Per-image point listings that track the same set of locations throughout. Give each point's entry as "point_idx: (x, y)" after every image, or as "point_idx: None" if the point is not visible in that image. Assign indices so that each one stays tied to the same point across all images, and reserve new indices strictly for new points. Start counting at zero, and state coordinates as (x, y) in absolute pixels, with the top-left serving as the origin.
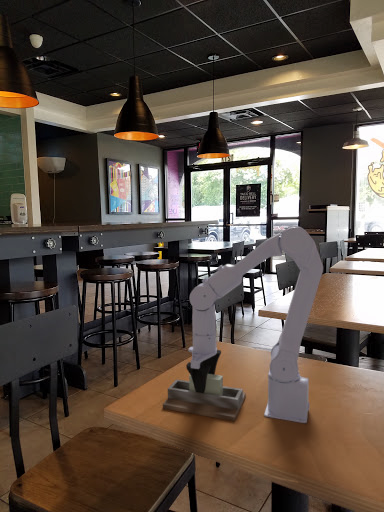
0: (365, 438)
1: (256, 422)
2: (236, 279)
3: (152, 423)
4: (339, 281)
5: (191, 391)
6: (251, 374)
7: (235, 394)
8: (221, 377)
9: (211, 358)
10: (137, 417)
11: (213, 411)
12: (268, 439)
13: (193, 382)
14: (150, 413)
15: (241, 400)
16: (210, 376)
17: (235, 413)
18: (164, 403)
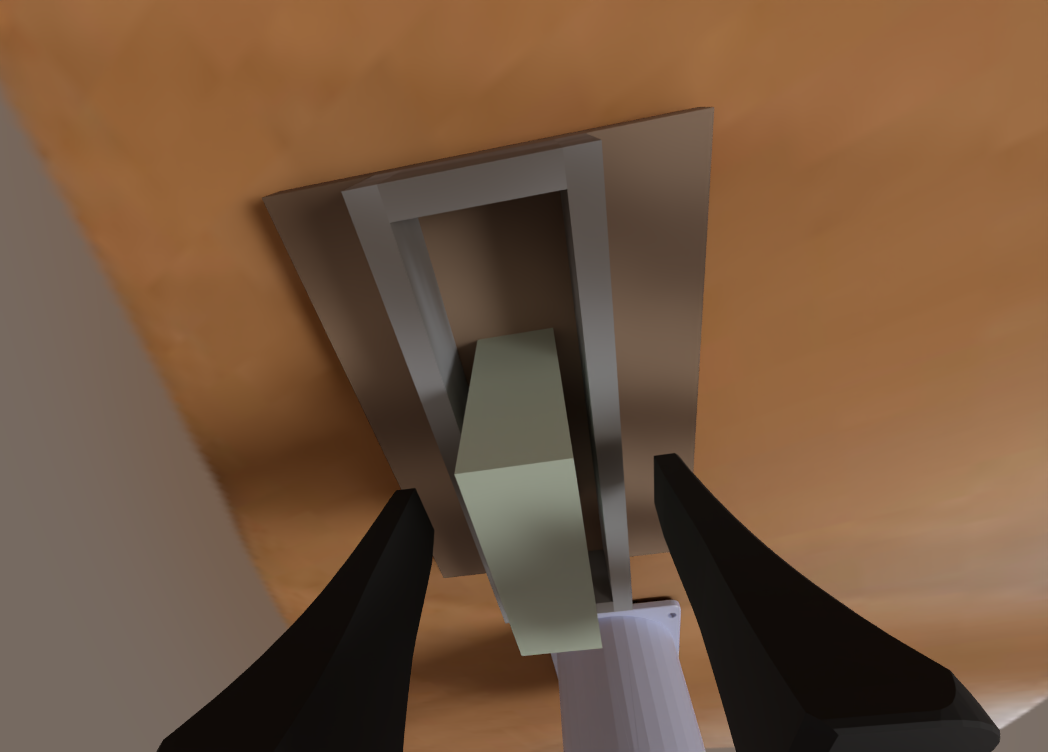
0: (561, 742)
1: (492, 601)
2: None
3: (97, 241)
4: None
5: (443, 413)
6: (992, 473)
7: (606, 561)
8: (567, 651)
9: (744, 716)
10: (12, 57)
11: (425, 507)
12: (418, 641)
13: (348, 561)
14: (157, 132)
15: None
16: (546, 603)
17: (471, 572)
18: (283, 205)
